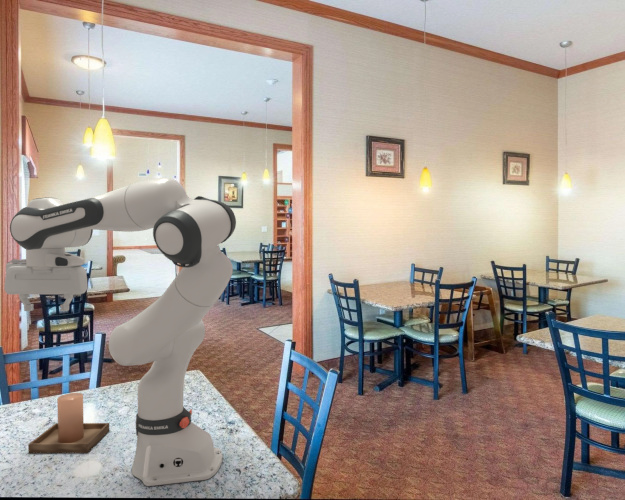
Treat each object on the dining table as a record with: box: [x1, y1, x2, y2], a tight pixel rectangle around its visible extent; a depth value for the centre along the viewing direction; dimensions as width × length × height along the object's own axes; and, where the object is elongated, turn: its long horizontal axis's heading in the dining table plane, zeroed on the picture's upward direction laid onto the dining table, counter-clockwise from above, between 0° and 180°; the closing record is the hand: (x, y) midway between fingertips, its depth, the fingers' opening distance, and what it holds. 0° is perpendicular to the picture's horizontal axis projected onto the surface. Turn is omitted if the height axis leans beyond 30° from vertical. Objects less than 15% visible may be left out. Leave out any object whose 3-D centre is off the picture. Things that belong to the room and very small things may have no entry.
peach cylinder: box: [56, 392, 85, 443], centre depth 123 cm, size 6×6×12 cm
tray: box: [27, 422, 110, 454], centre depth 124 cm, size 16×13×2 cm
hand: (46, 310), depth 115 cm, fingers open, 8 cm apart
